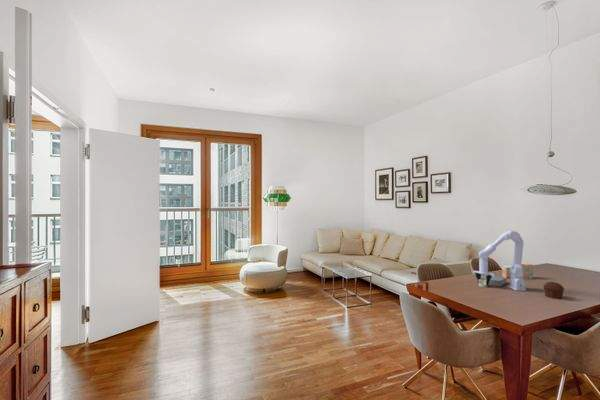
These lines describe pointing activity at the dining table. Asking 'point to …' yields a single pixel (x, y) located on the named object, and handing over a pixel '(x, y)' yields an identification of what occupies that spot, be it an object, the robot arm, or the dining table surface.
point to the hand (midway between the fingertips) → (483, 284)
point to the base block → (495, 280)
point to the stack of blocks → (526, 270)
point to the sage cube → (483, 282)
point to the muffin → (553, 290)
